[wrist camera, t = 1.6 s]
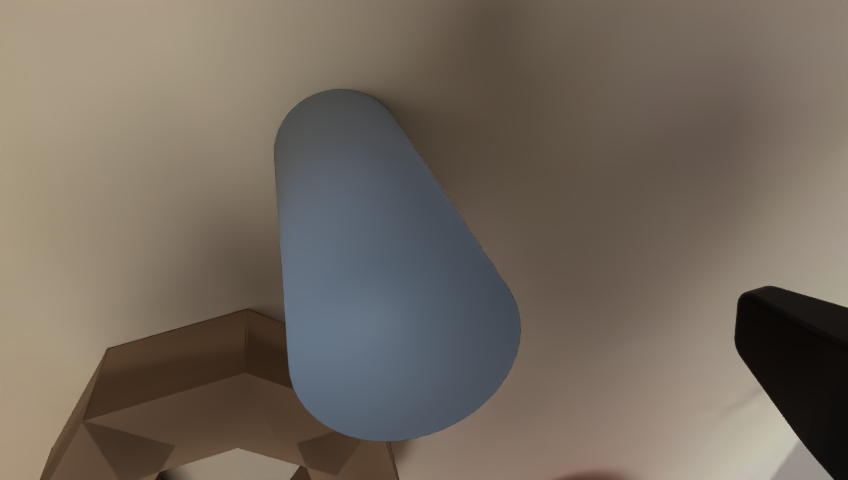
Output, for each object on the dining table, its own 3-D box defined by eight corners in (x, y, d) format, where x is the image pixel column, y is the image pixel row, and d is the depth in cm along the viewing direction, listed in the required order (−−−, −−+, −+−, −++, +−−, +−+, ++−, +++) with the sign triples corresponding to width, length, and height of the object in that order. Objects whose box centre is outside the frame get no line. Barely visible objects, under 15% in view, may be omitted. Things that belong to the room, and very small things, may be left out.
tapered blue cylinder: (389, 74, 17) (506, 218, 9) (415, 194, 18) (531, 401, 11) (256, 108, 16) (255, 289, 8) (295, 227, 18) (324, 468, 10)
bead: (341, 281, 19) (354, 339, 16) (405, 493, 24) (423, 563, 21) (3, 378, 18) (-40, 456, 15) (143, 579, 23) (129, 664, 20)
